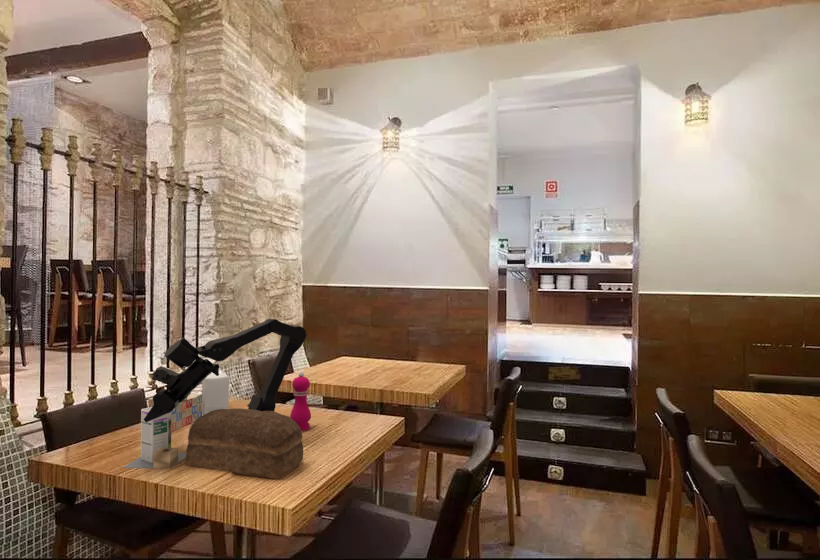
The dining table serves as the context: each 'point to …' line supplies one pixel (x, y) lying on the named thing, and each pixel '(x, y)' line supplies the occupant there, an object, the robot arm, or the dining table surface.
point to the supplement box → (215, 392)
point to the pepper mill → (301, 402)
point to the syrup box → (154, 434)
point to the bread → (245, 442)
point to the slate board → (144, 464)
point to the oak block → (165, 458)
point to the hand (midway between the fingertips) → (150, 416)
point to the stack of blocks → (184, 411)
